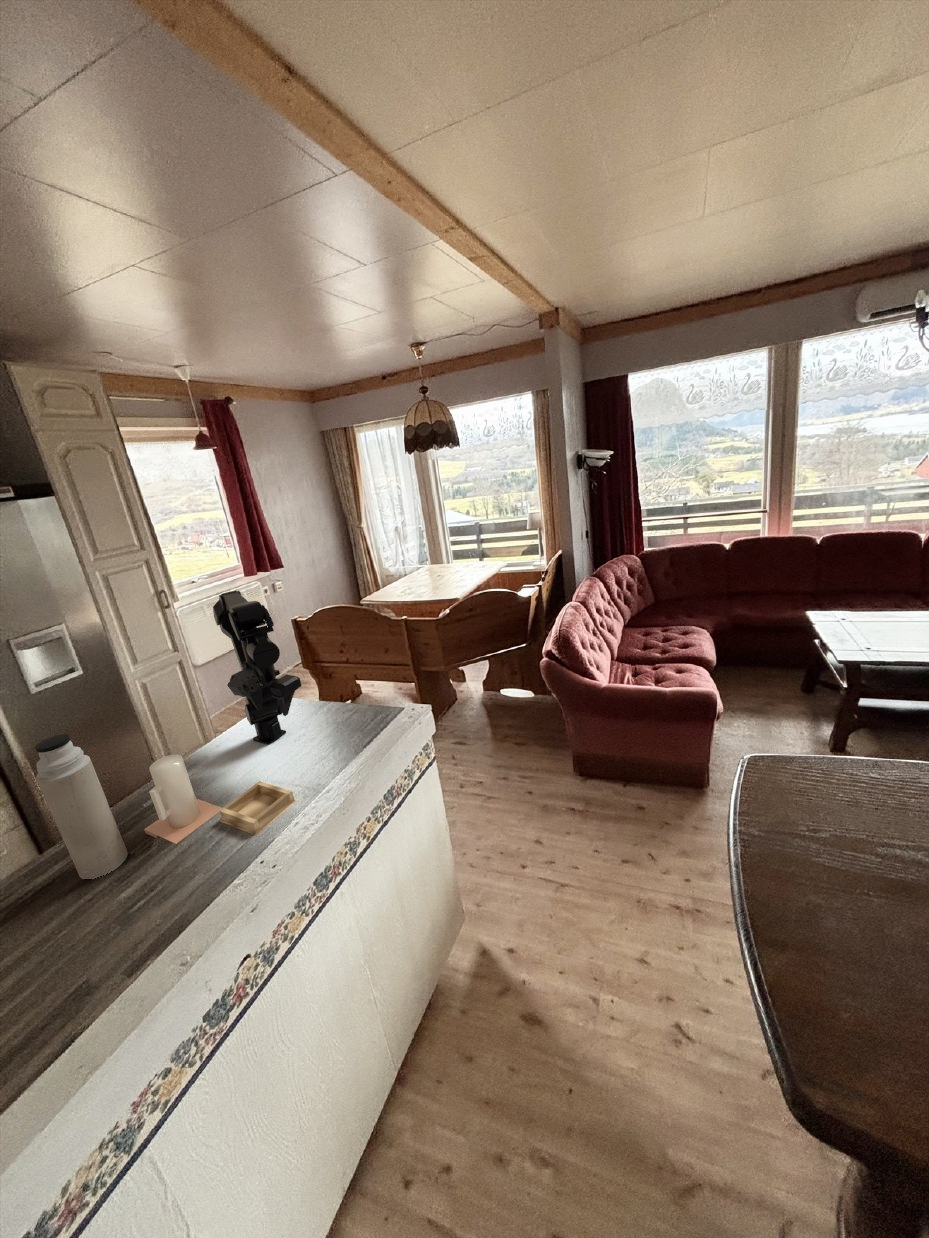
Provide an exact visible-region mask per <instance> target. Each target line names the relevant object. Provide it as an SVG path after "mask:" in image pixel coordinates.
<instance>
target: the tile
mask: <svg viewBox="0 0 929 1238" xmlns="http://www.w3.org/2000/svg"><path fill="white" fill-rule="evenodd" d="M196 800H197V803H198V806H199V809H200V816H199V817H198V818H197V819H196V820H195V821H194V822H193V823H191V824H189V825H187V826H185V827H182V828H172V827H170V825H169V822H168V820H167V818H166V819H165V820H159V819H157V820H155V821H154V822H153V823H151V824H150V825H148V826H147V827H145V828H144V833H145V834H147V835H149V836H151V837H153V838H155V839H157V838H158V837H160V838H161V839H164V840H166V841H169V842H170V843H173V844H175V845H176V844H178V843H179V842H181V841H182V840H183V839H185V838H186V837H187V836H189V835H190V834H191V833H193V832H194V831H196V830H197V829H198V828H200V827H201V826H202V825H203V824H205V823H206V822H207V821H209V820H211V819H212V818H213V817H214V816H215V815H217V814H218V813H220V810H221V809H223V808H224V807H221V806H218V805H214V804H213V803H210V802H207V801H204V800H202V799H199V798H196Z"/></svg>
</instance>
